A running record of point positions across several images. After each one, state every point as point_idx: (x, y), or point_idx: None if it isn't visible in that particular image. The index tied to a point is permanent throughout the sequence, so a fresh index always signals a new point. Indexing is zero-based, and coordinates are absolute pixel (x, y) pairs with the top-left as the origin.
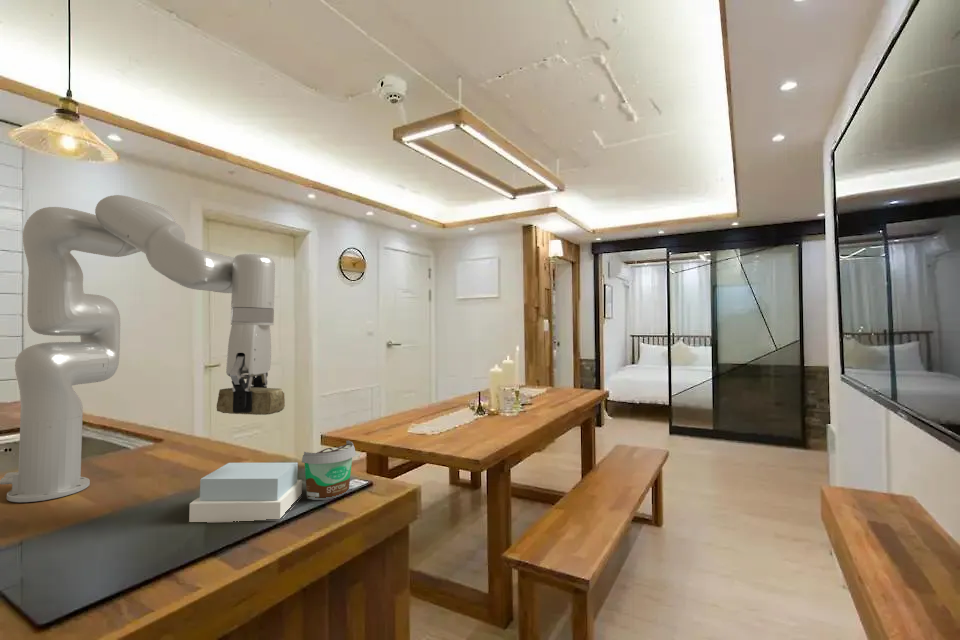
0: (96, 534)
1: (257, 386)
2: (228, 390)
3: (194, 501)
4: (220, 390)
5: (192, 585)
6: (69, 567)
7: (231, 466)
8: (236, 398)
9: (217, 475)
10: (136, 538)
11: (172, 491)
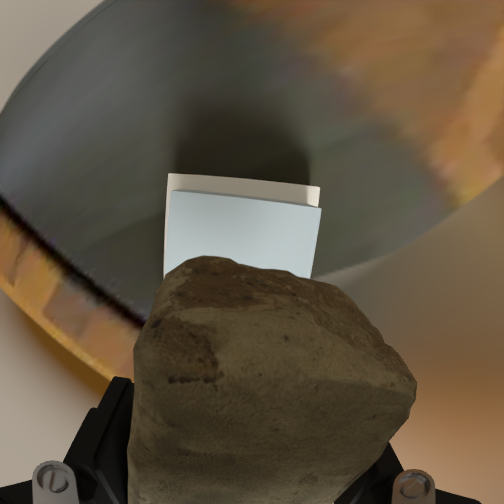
0: (152, 45)
1: (361, 500)
2: (138, 430)
3: (180, 177)
4: (134, 366)
5: (15, 275)
6: (54, 93)
7: (281, 230)
8: (73, 443)
9: (195, 224)
10: (123, 118)
11: (357, 71)
